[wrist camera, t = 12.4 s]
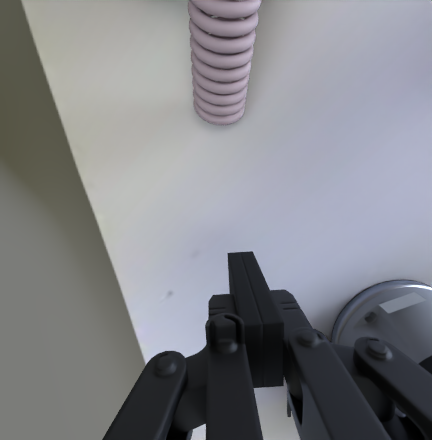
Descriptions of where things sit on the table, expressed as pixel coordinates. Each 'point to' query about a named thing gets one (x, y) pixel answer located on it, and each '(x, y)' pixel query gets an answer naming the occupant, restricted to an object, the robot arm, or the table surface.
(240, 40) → the coil
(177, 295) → the table surface
